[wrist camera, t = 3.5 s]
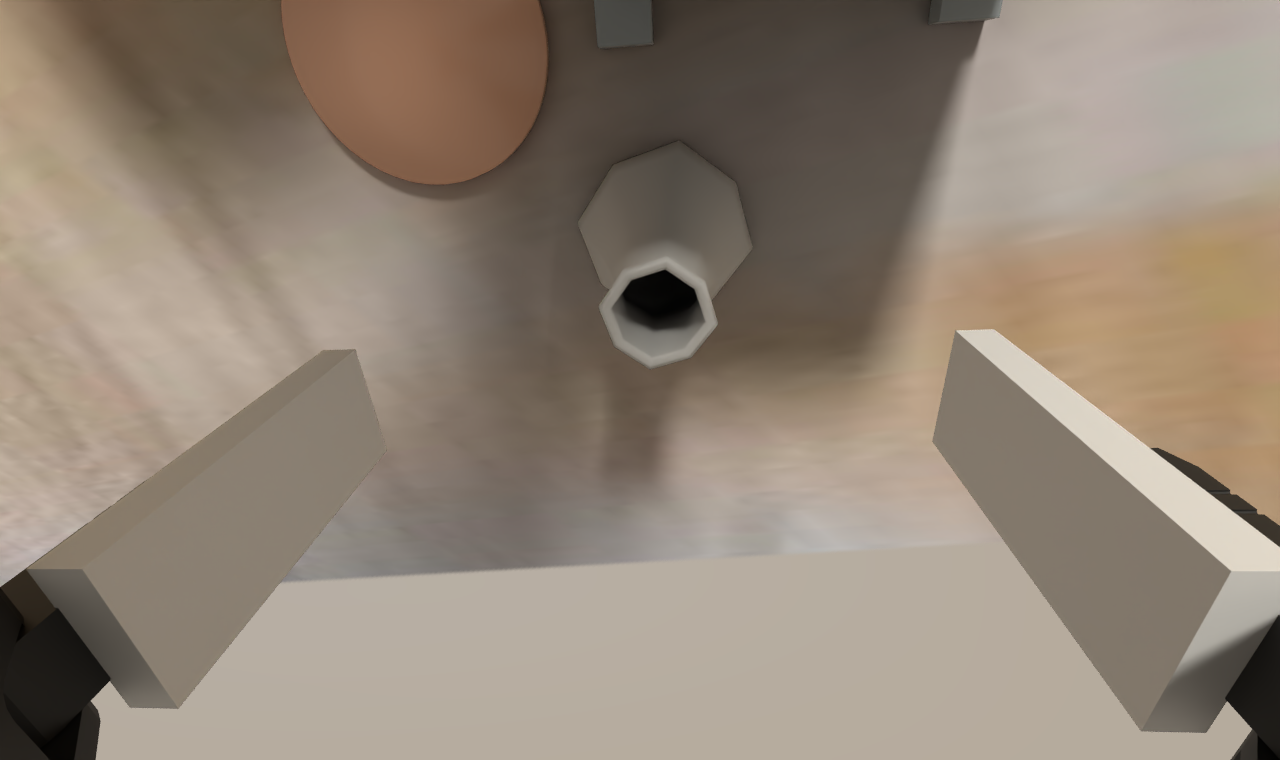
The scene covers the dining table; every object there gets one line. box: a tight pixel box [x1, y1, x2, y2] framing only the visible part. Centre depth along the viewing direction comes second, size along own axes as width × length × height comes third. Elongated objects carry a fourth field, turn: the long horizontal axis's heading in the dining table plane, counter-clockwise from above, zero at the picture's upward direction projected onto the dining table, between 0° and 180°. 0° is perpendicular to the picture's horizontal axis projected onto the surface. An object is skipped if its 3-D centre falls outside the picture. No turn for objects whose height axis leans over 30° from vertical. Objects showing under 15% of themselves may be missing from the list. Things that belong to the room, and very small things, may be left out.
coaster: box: [281, 0, 549, 185], centre depth 22 cm, size 10×10×1 cm
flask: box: [578, 140, 753, 369], centre depth 20 cm, size 7×7×10 cm
